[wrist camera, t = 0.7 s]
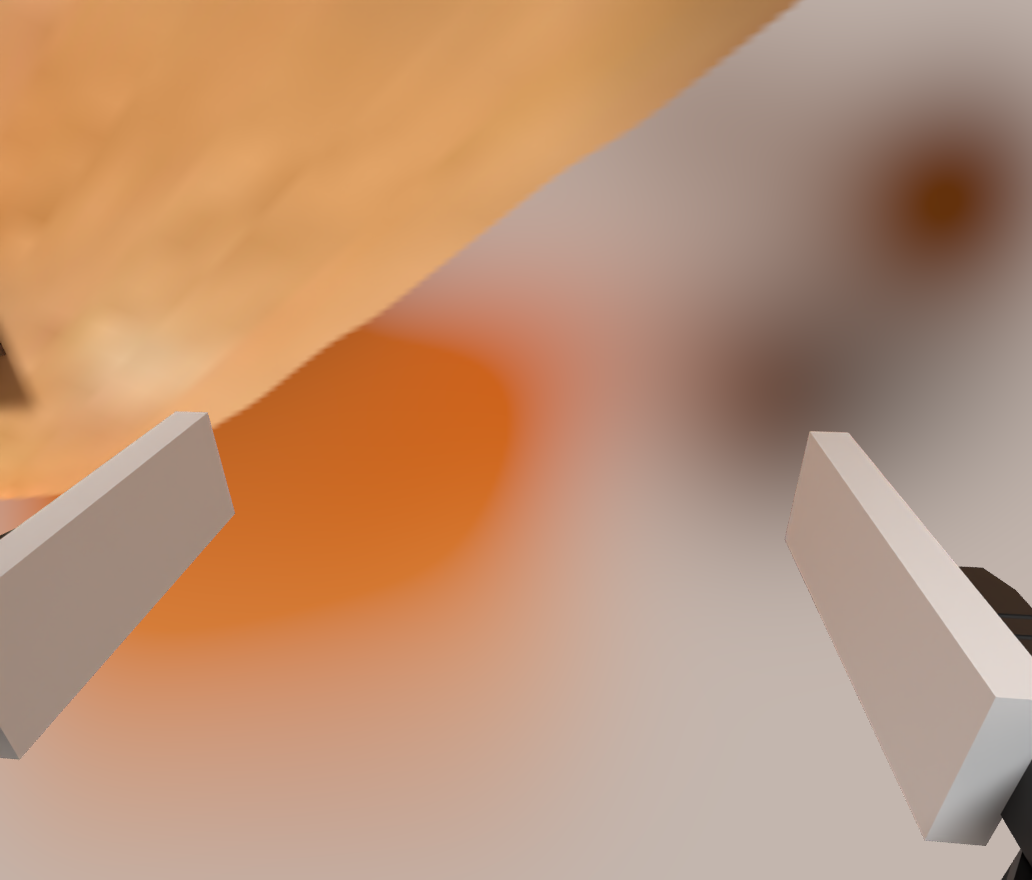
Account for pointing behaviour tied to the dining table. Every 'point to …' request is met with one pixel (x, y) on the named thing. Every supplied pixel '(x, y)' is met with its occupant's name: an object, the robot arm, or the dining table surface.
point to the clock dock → (1, 351)
